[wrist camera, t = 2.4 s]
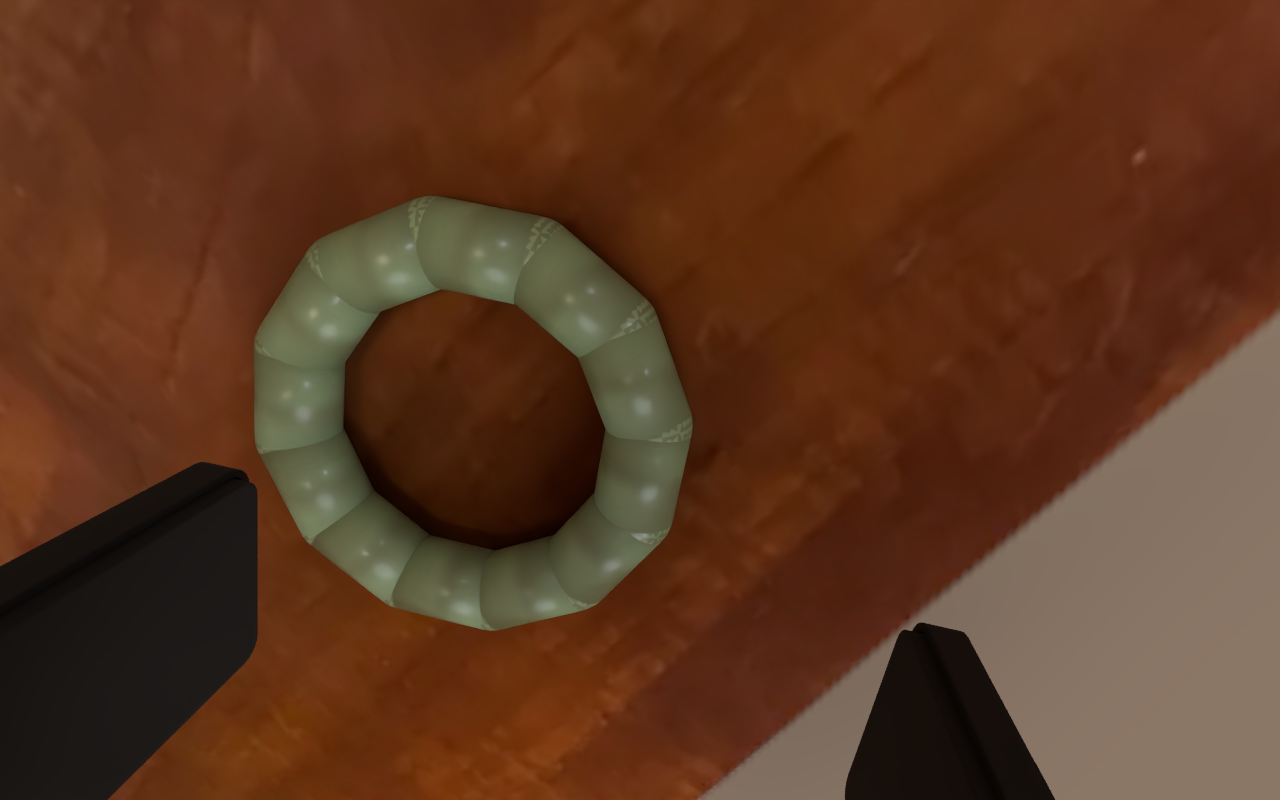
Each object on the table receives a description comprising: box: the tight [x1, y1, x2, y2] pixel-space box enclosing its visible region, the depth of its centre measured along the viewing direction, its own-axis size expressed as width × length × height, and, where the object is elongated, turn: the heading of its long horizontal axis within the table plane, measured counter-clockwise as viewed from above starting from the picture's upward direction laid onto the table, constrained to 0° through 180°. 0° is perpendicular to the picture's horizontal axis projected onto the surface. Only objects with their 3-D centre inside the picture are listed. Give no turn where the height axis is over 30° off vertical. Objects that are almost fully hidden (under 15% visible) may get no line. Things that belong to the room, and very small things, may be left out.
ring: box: [254, 196, 693, 631], centre depth 15 cm, size 10×10×2 cm
